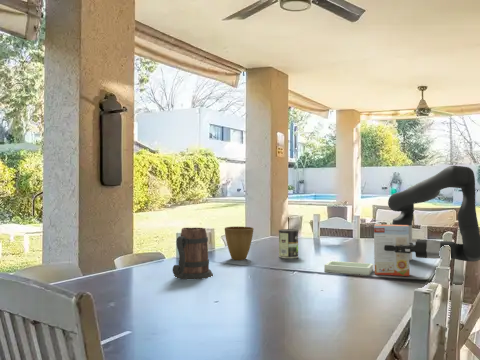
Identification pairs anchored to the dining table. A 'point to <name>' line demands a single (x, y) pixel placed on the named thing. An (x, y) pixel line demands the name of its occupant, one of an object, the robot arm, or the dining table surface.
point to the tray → (348, 267)
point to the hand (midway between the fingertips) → (385, 246)
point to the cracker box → (389, 259)
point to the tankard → (192, 254)
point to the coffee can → (288, 243)
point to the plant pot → (238, 241)
